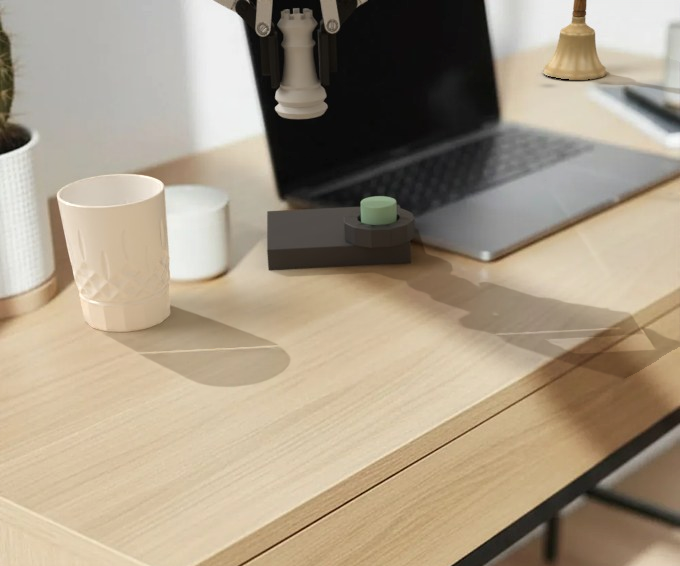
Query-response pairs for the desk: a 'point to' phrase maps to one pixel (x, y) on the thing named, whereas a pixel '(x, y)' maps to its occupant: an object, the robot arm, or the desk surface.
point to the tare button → (378, 210)
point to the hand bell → (576, 50)
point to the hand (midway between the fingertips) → (300, 80)
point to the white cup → (118, 249)
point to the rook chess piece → (299, 69)
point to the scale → (336, 239)
